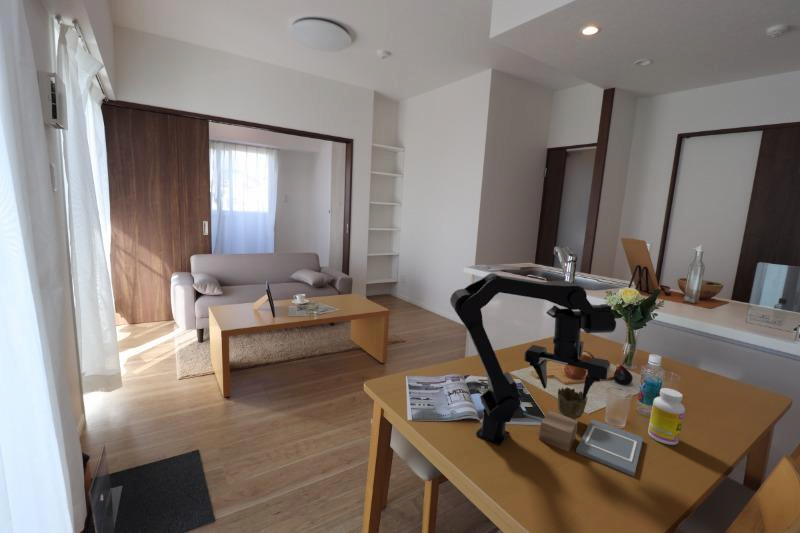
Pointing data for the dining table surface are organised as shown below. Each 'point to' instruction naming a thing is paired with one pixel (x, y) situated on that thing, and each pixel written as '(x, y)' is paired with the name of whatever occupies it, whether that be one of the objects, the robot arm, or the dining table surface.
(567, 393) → the cup
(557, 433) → the walnut block
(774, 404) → the dining table surface
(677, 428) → the supplement bottle
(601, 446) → the slate board
